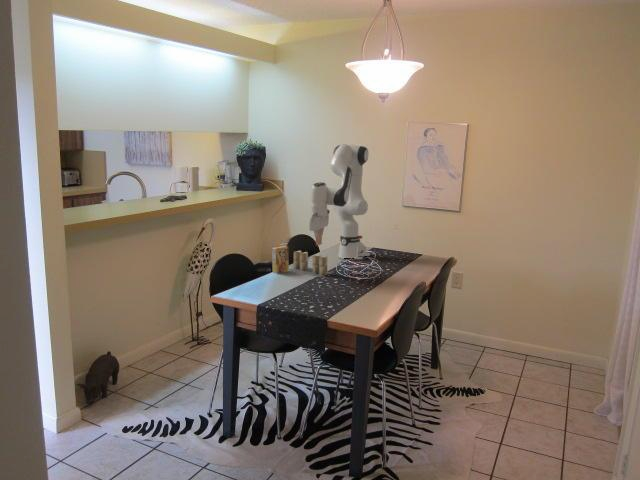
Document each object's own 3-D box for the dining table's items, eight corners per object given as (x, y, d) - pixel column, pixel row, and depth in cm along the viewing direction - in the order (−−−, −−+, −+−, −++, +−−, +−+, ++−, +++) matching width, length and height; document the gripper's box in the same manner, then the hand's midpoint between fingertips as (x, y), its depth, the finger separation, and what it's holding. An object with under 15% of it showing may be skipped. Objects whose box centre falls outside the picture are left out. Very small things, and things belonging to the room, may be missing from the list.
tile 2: (305, 268, 300) (305, 251, 298) (307, 269, 299) (307, 252, 297) (299, 270, 296) (299, 253, 294) (301, 270, 295) (301, 253, 293)
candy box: (284, 271, 298) (284, 245, 295) (289, 272, 295) (288, 246, 292) (272, 274, 293) (271, 247, 290) (276, 275, 289) (276, 249, 286)
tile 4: (318, 271, 293) (318, 254, 291) (320, 272, 292) (320, 254, 290) (312, 273, 290) (312, 256, 288) (314, 273, 289) (314, 256, 287)
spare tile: (319, 243, 293) (319, 226, 291) (321, 243, 292) (321, 226, 290) (315, 245, 288) (316, 227, 286) (318, 245, 288) (318, 227, 286)
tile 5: (325, 273, 290) (325, 255, 288) (327, 273, 289) (327, 256, 287) (319, 274, 286) (319, 257, 284) (321, 275, 285) (321, 257, 283)
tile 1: (299, 267, 303) (299, 250, 301) (301, 267, 302) (301, 251, 300) (293, 268, 299) (293, 252, 297) (295, 269, 298) (295, 252, 296)
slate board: (302, 267, 307) (302, 265, 306) (332, 274, 291) (332, 272, 291) (287, 271, 298) (287, 269, 298) (318, 279, 282) (318, 277, 282)
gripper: (317, 214, 276) (317, 240, 279) (330, 210, 295) (330, 233, 297) (306, 214, 278) (306, 239, 281) (320, 209, 297) (320, 233, 300)
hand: (318, 236), depth 289 cm, fingers closed on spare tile, 5 cm apart
